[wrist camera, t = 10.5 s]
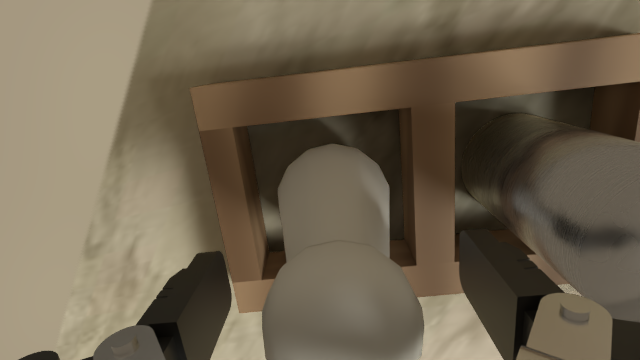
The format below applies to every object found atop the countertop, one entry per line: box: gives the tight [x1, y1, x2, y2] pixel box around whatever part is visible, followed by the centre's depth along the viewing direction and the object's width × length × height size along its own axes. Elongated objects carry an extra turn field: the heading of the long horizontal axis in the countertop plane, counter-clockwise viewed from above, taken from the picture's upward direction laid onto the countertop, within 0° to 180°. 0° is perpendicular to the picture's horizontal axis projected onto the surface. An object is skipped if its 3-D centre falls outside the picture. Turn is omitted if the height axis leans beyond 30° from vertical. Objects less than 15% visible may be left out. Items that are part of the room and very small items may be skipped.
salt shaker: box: [262, 143, 424, 360], centre depth 15 cm, size 6×6×13 cm
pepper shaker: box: [461, 113, 640, 322], centre depth 16 cm, size 6×6×10 cm
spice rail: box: [190, 33, 640, 313], centre depth 19 cm, size 22×12×3 cm, turn 96°
